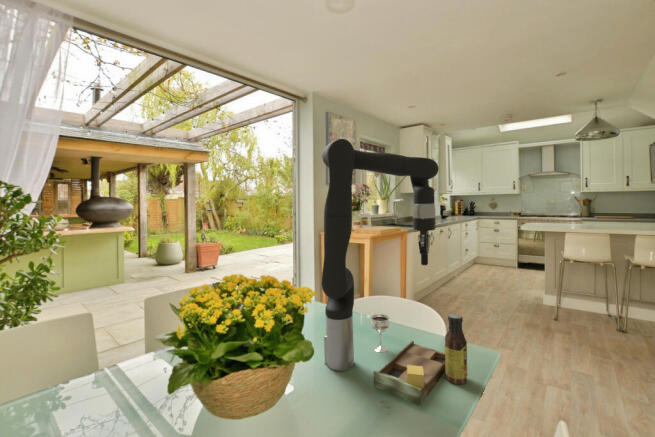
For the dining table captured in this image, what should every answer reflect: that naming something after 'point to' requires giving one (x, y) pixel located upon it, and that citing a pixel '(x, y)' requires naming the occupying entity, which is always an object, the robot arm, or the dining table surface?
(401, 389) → the trap deck
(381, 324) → the wineglass
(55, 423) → the dining table surface
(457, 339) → the sauce bottle
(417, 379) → the mustard block
